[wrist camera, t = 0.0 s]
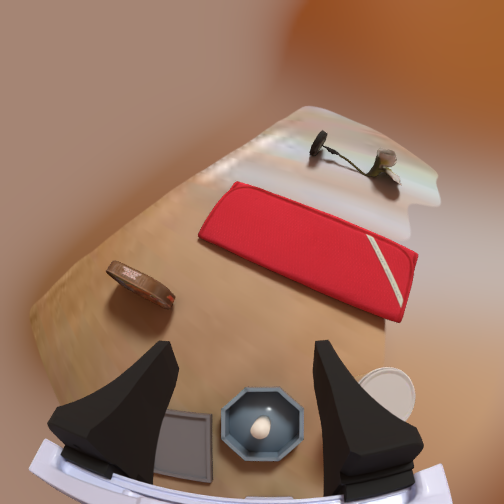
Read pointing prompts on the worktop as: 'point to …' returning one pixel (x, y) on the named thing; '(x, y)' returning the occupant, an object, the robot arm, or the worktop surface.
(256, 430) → the dowel pin
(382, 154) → the artificial flower
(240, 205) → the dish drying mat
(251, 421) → the blue-grey octagonal bowl
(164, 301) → the tin
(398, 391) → the coffee cup
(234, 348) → the worktop surface
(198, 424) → the tray
